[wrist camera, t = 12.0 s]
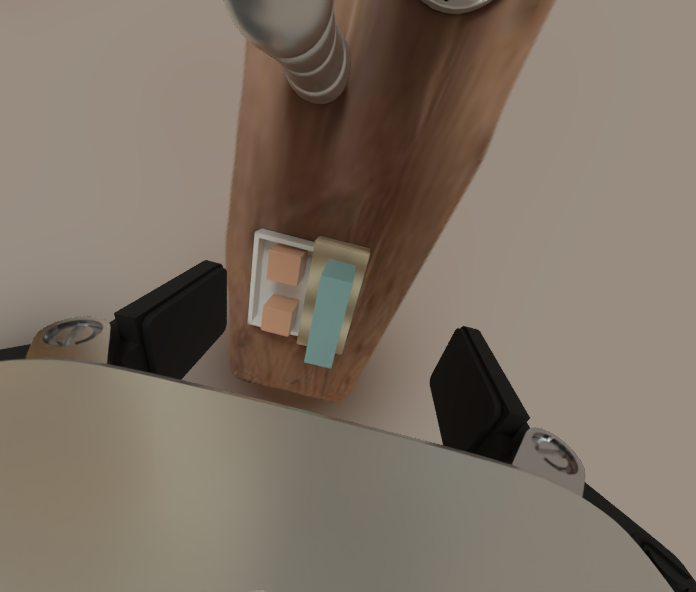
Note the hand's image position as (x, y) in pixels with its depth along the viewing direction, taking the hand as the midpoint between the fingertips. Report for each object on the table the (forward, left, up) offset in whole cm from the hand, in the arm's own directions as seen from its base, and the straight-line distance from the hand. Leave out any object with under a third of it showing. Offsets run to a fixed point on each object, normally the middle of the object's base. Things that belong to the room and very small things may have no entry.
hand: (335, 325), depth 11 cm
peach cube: (+15, -6, -23) cm, 29 cm away
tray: (+11, -9, -26) cm, 29 cm away
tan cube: (+7, -6, -23) cm, 25 cm away
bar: (+11, -1, -23) cm, 25 cm away
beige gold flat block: (+11, -2, -26) cm, 28 cm away
